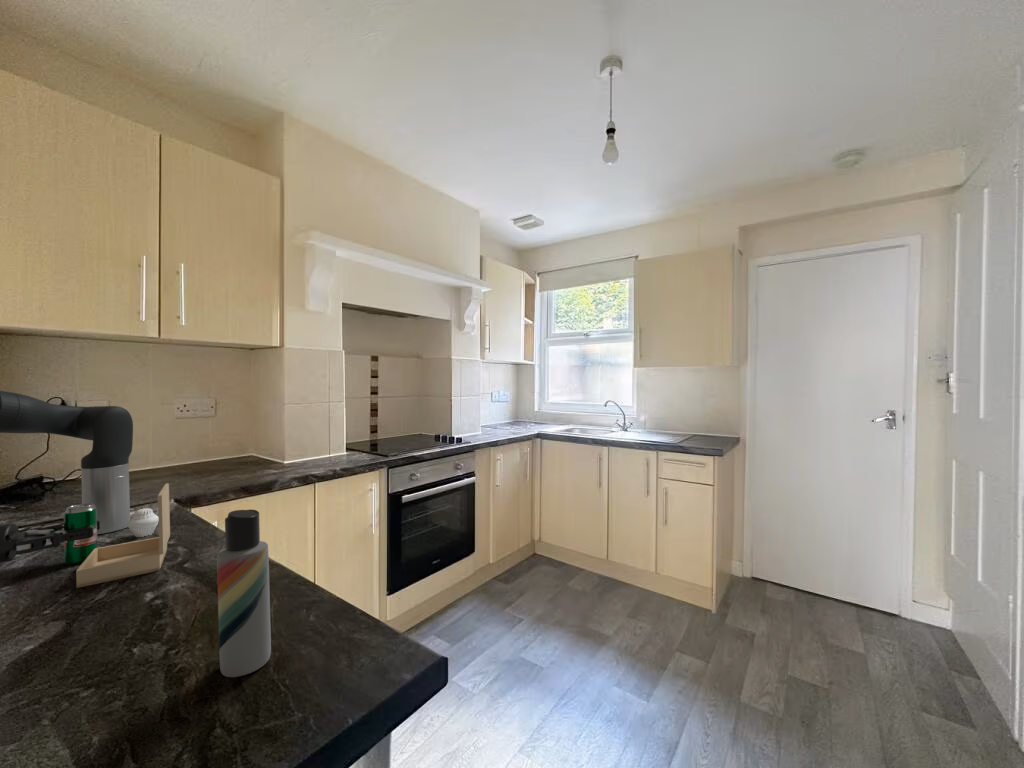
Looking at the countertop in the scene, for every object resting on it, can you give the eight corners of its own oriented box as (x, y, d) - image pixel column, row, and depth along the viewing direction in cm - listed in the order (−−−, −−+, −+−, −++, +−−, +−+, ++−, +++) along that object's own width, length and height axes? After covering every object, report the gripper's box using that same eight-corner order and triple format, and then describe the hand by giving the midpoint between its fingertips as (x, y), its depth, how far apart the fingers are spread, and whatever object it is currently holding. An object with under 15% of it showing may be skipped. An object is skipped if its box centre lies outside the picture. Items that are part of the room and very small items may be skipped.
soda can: (76, 566, 89) (75, 509, 89) (57, 565, 90) (57, 508, 90) (103, 556, 93) (103, 502, 94) (86, 555, 94) (85, 502, 95)
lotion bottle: (235, 651, 58) (232, 506, 58) (279, 648, 58) (275, 504, 58) (209, 680, 52) (205, 519, 52) (257, 676, 52) (253, 516, 53)
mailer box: (95, 563, 90) (93, 492, 90) (170, 548, 97) (168, 483, 97) (76, 587, 79) (74, 506, 79) (163, 569, 86) (161, 495, 86)
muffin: (152, 530, 112) (151, 503, 112) (164, 532, 109) (164, 505, 109) (122, 537, 106) (121, 510, 106) (135, 541, 103) (134, 512, 103)
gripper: (-41, 538, 78) (87, 519, 87) (-6, 519, 89) (103, 504, 99) (-40, 578, 78) (88, 555, 87) (-5, 554, 89) (104, 536, 99)
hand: (96, 528), depth 93 cm, fingers closed on soda can, 5 cm apart
